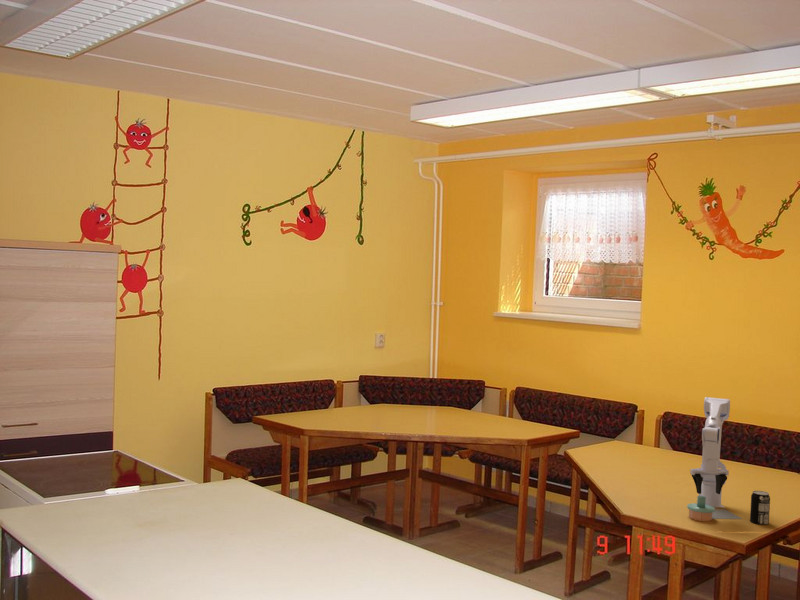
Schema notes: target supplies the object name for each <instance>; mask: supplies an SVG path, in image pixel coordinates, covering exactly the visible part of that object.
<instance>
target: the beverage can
mask: <svg viewBox="0 0 800 600" xmlns="http://www.w3.org/2000/svg"><path fill="white" fill-rule="evenodd" d="M770 504H771V496H770V493H769V492H768V491H763V490H753V491H752V493H751V495H750V514H749V515H750V516H749V522H750V523H752V524H755V525H760V526H766V525H769V523H770V509H771V506H770Z"/></svg>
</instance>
